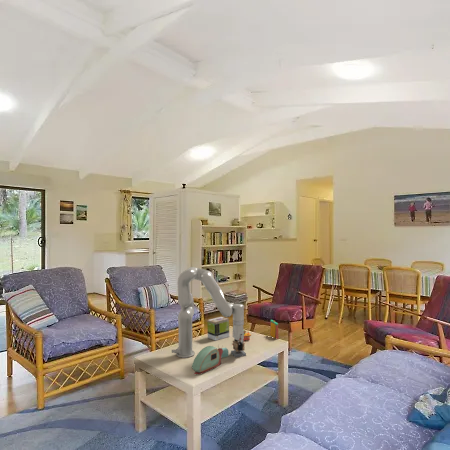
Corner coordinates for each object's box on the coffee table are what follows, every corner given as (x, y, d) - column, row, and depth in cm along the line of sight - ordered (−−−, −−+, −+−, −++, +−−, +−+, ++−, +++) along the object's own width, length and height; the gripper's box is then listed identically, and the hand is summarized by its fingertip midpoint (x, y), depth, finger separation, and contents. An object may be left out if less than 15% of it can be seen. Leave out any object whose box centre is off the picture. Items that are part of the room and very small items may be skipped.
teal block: (221, 358, 229) (221, 351, 229) (219, 355, 234) (219, 348, 234) (228, 357, 231) (228, 350, 231) (225, 354, 235) (225, 347, 235)
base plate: (235, 358, 229) (235, 354, 229) (230, 354, 236) (230, 350, 236) (246, 357, 231) (246, 353, 231) (241, 352, 239) (241, 349, 239)
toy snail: (198, 377, 200) (198, 354, 200) (189, 374, 205) (190, 351, 205) (226, 364, 218) (226, 343, 218) (217, 361, 223) (217, 340, 223)
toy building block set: (278, 340, 265) (278, 322, 265) (236, 344, 256) (236, 325, 256) (272, 335, 277) (272, 318, 277) (231, 339, 268) (231, 321, 268)
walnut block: (236, 351, 230) (236, 344, 230) (233, 348, 236) (233, 341, 236) (244, 350, 232) (244, 343, 232) (241, 347, 237) (241, 340, 238)
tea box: (221, 333, 281) (221, 316, 281) (229, 337, 273) (229, 318, 273) (207, 337, 271) (207, 319, 271) (214, 341, 263) (214, 322, 263)
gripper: (229, 319, 241) (229, 345, 241) (237, 326, 224) (238, 353, 224) (238, 318, 243) (238, 343, 243) (248, 325, 227) (248, 352, 227)
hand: (238, 348), depth 234 cm, fingers closed on walnut block, 6 cm apart
